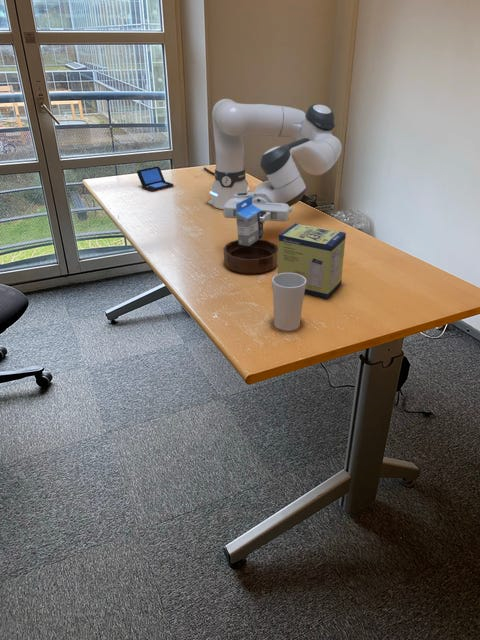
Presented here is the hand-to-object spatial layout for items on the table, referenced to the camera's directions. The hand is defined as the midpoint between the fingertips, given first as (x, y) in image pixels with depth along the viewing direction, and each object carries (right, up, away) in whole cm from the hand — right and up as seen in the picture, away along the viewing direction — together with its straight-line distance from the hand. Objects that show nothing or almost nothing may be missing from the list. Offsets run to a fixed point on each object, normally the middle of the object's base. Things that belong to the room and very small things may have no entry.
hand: (251, 219), depth 148 cm
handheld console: (-41, +30, +79) cm, 95 cm away
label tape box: (0, -6, +3) cm, 7 cm away
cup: (+8, -31, -24) cm, 40 cm away
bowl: (0, -12, +7) cm, 14 cm away
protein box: (+16, -20, -6) cm, 26 cm away
